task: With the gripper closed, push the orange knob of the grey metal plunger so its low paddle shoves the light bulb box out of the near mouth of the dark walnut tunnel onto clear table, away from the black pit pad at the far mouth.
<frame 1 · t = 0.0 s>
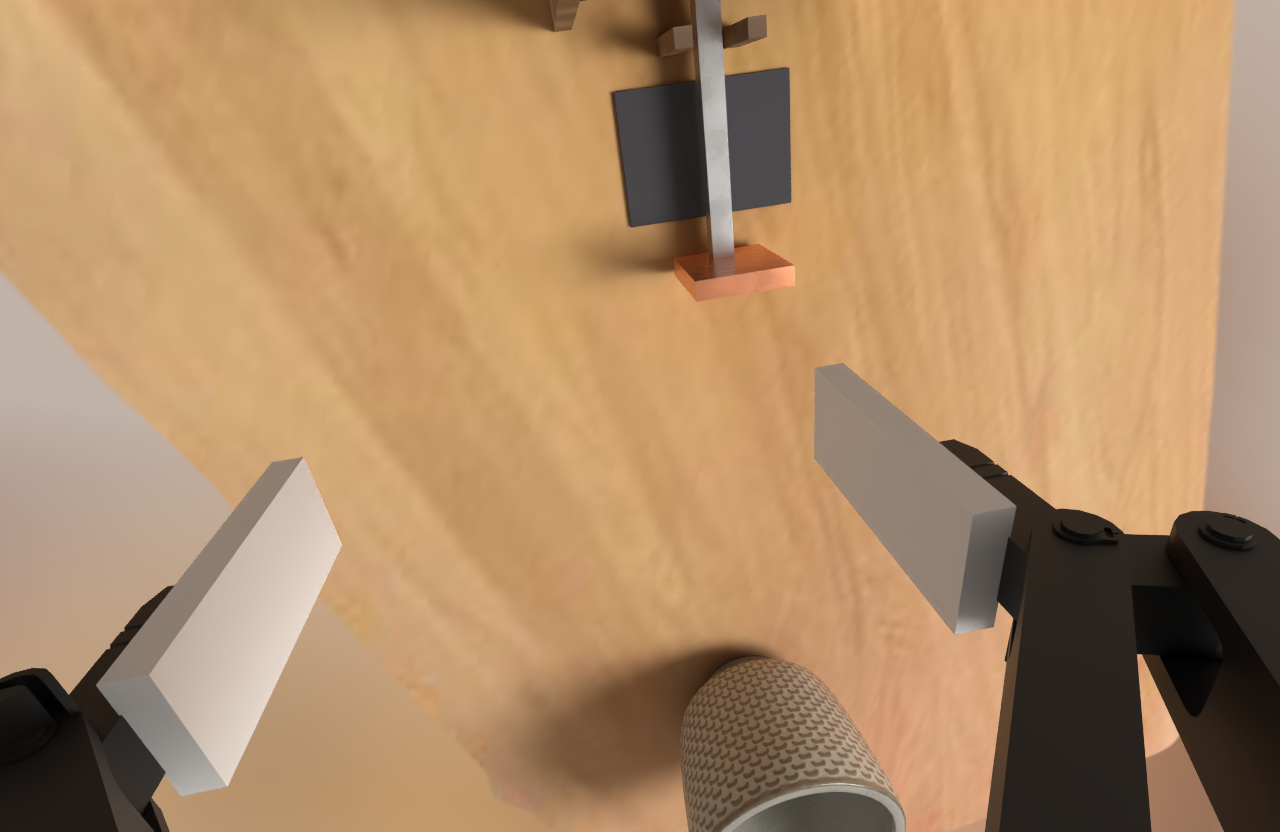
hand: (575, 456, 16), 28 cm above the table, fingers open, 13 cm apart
plunger: (719, 92, 34), point 4 cm above the table, slide at 0.0 cm
planter: (744, 684, 62), on the table
pit pad: (706, 150, 39), on the table
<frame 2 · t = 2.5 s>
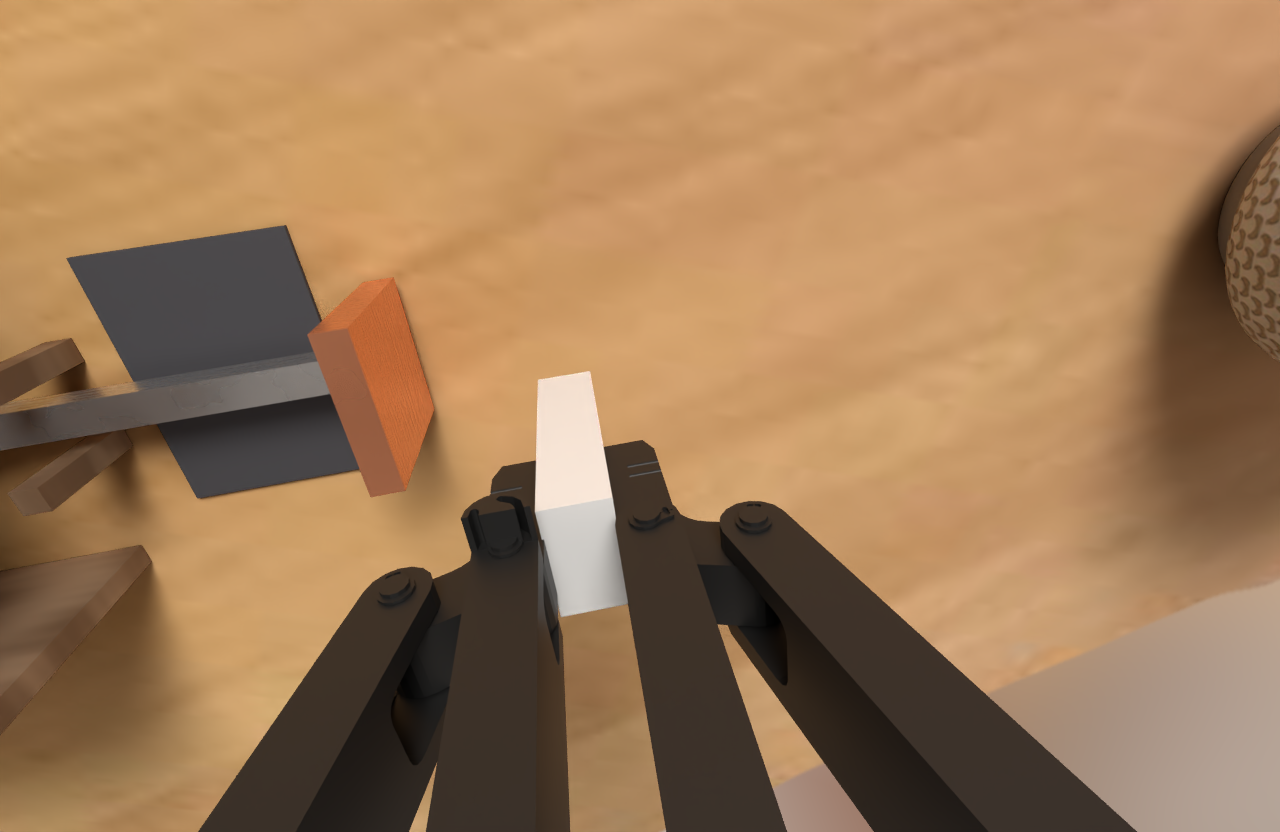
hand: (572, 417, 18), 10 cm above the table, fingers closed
plunger: (101, 427, 22), point 4 cm above the table, slide at 0.0 cm
pit pad: (239, 371, 26), on the table
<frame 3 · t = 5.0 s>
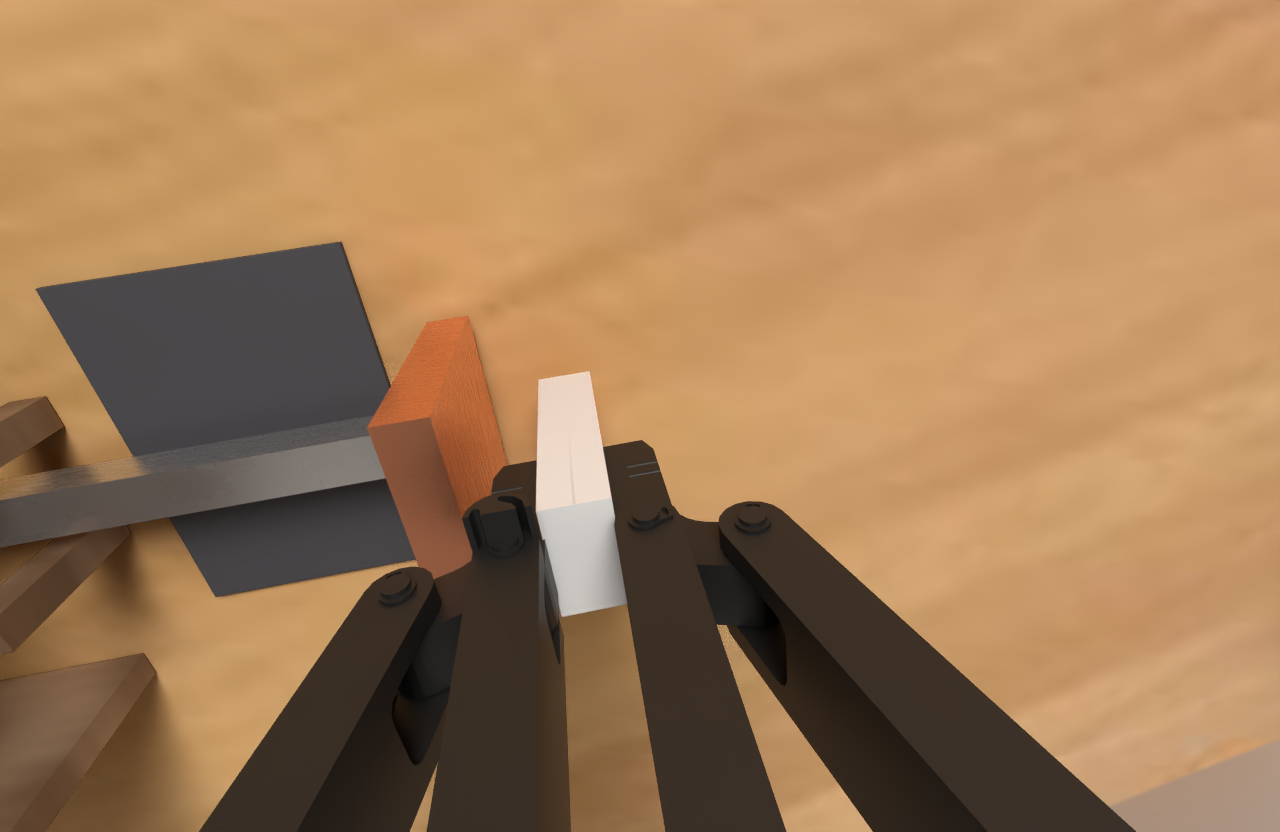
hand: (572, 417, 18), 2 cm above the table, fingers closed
plunger: (60, 536, 15), point 4 cm above the table, slide at 0.5 cm, touching gripper, light bulb box
pit pad: (272, 437, 19), on the table
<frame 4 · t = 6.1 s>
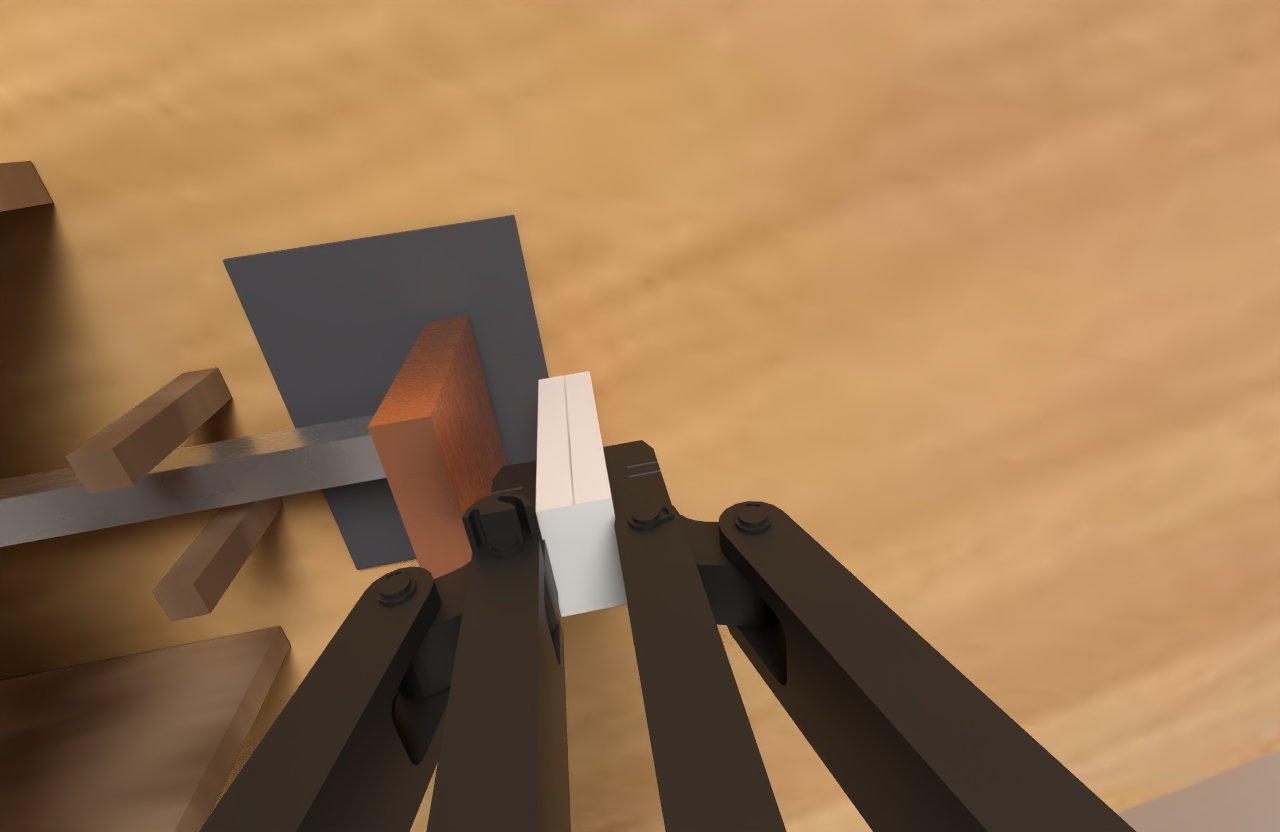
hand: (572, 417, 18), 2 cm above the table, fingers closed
plunger: (61, 536, 16), point 4 cm above the table, slide at 5.4 cm, touching gripper, light bulb box
pit pad: (427, 410, 20), on the table
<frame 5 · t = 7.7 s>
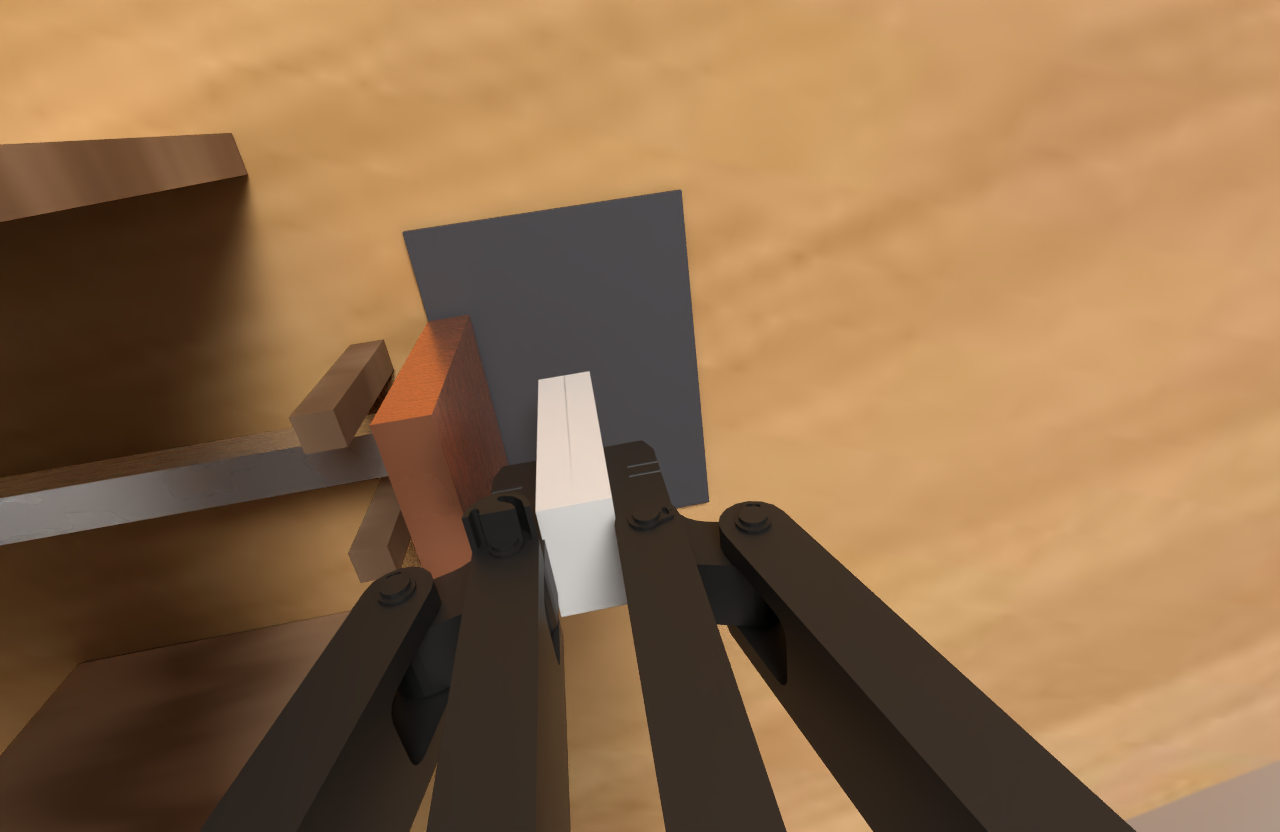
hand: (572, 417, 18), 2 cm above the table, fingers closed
tunnel: (149, 457, 19), on the table
plunger: (63, 534, 16), point 4 cm above the table, slide at 10.2 cm, touching gripper, light bulb box
pit pad: (576, 383, 20), on the table
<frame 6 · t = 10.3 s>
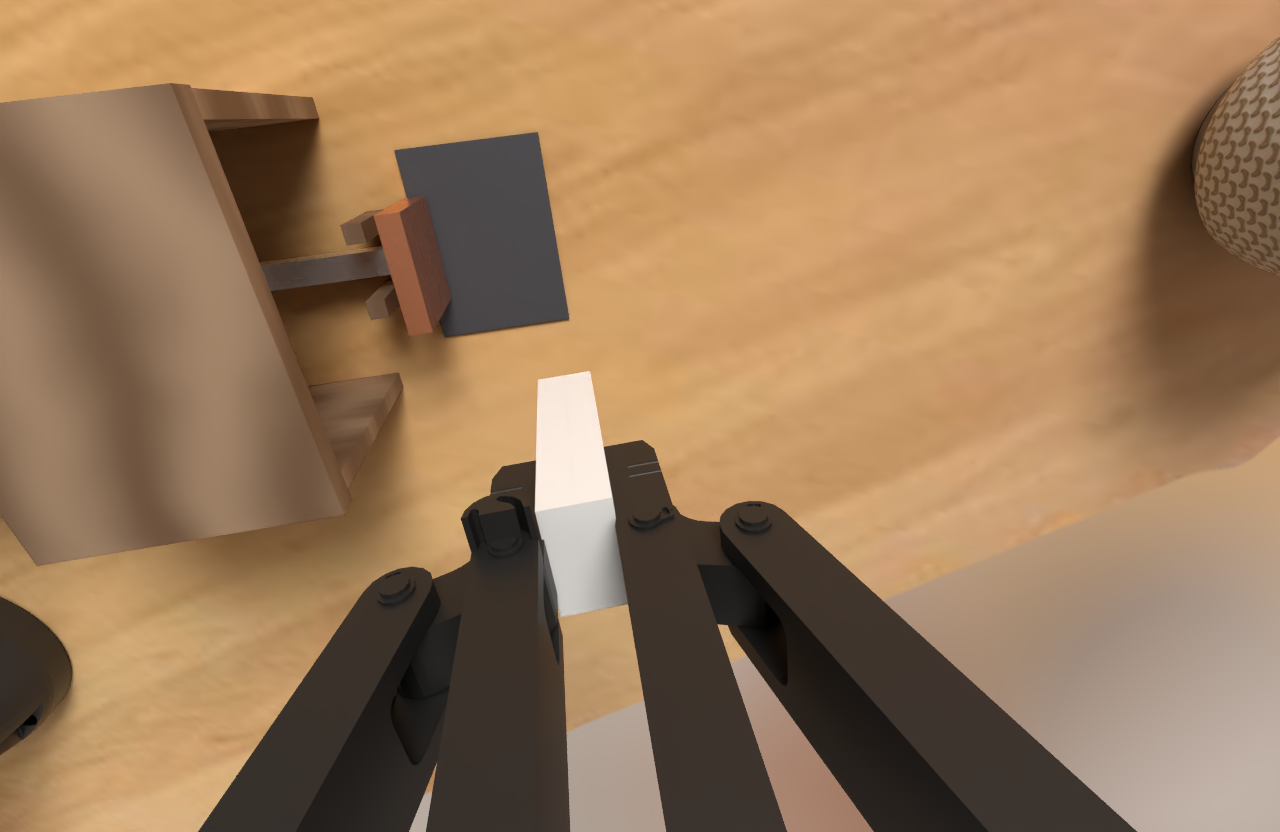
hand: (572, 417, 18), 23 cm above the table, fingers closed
tunnel: (259, 271, 36), on the table
plunger: (225, 288, 32), point 4 cm above the table, slide at 10.4 cm
planter: (1249, 135, 41), on the table
pit pad: (488, 240, 37), on the table
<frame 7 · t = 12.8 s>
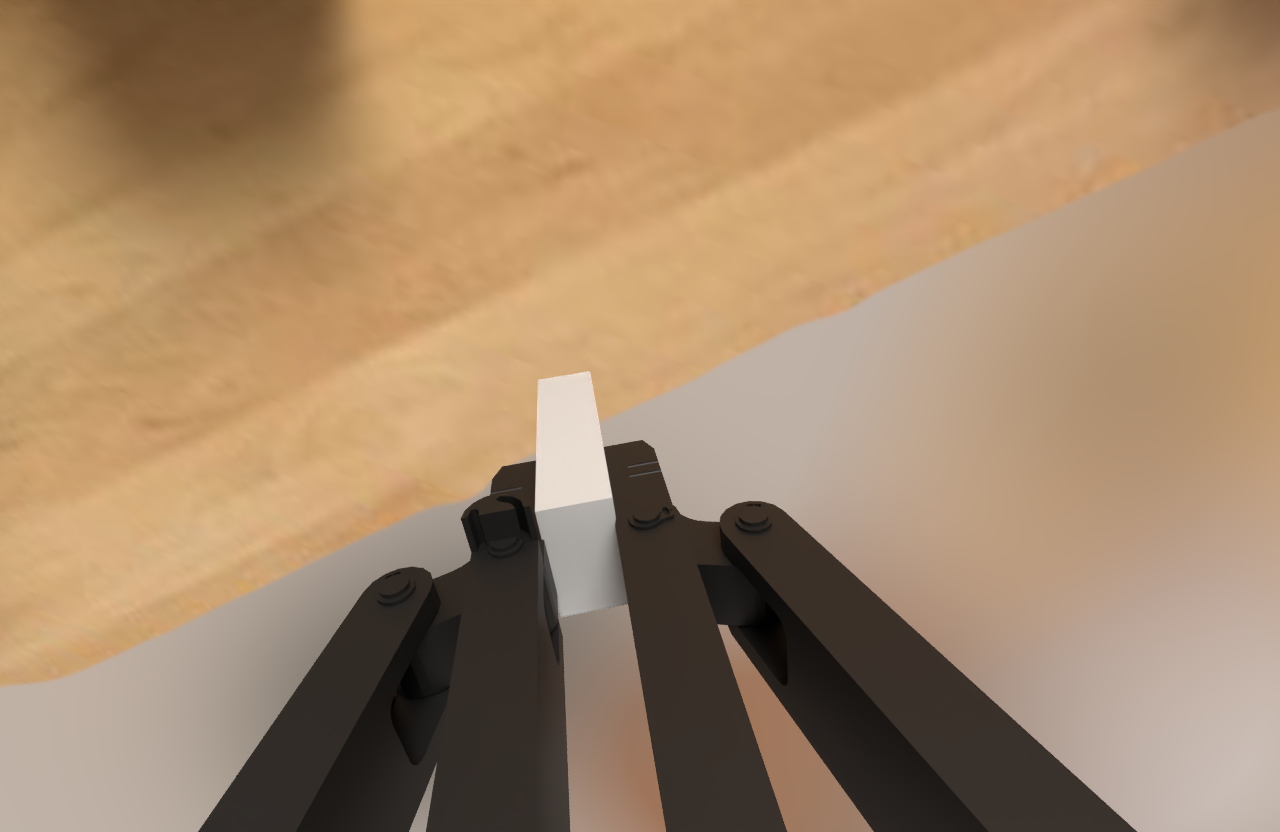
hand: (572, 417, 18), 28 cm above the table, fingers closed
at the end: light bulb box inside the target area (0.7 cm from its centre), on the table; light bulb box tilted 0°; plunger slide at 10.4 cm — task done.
